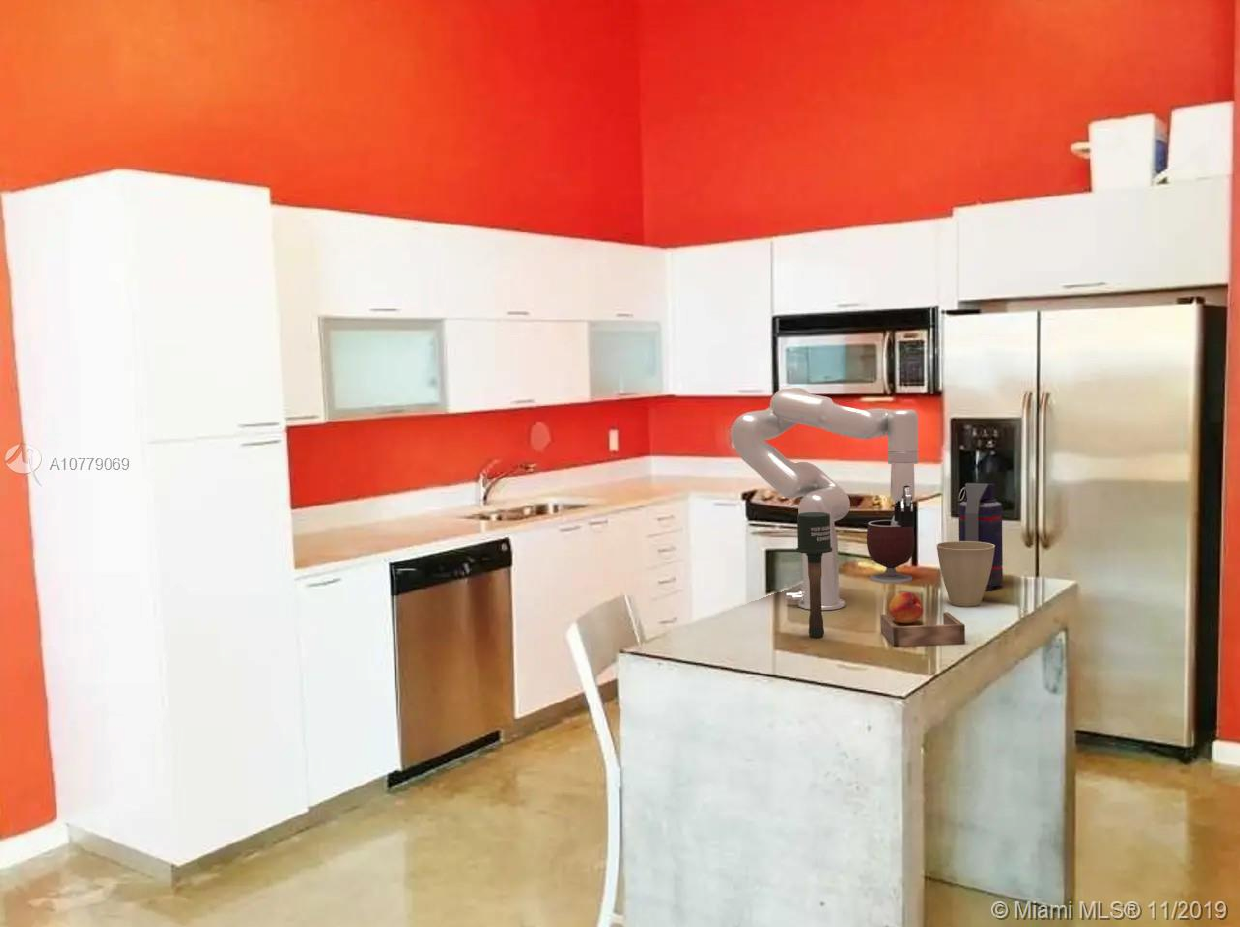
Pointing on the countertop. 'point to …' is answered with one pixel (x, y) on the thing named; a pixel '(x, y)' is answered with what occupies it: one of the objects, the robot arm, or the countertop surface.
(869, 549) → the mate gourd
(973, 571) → the plant pot
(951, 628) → the box
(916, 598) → the fruit
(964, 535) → the smoke canister
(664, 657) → the countertop surface
